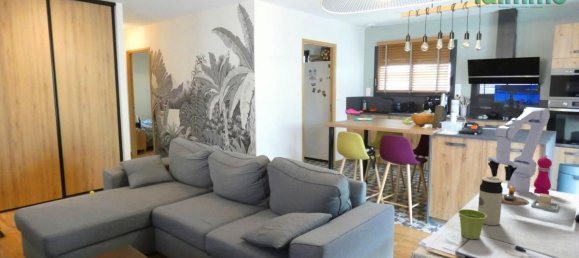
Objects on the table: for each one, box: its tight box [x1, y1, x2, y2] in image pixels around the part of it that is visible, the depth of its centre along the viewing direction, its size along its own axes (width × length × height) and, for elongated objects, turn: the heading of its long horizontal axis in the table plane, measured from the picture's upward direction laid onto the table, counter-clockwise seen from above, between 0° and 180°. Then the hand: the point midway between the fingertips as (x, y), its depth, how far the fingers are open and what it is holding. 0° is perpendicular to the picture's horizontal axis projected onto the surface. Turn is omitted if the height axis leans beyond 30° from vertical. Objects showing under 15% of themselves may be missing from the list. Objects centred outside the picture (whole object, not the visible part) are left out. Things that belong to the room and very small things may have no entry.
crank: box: [504, 186, 516, 200], centre depth 171 cm, size 9×4×4 cm, turn 139°
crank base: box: [501, 193, 530, 207], centre depth 170 cm, size 16×16×2 cm
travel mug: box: [477, 176, 504, 226], centre depth 145 cm, size 8×8×18 cm
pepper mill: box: [533, 154, 553, 195], centre depth 182 cm, size 7×7×20 cm
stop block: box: [538, 194, 552, 208], centre depth 160 cm, size 4×4×6 cm
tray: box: [530, 199, 560, 213], centre depth 160 cm, size 9×9×2 cm
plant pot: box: [457, 208, 487, 240], centre depth 133 cm, size 9×9×9 cm
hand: (500, 178), depth 176 cm, fingers open, 7 cm apart
